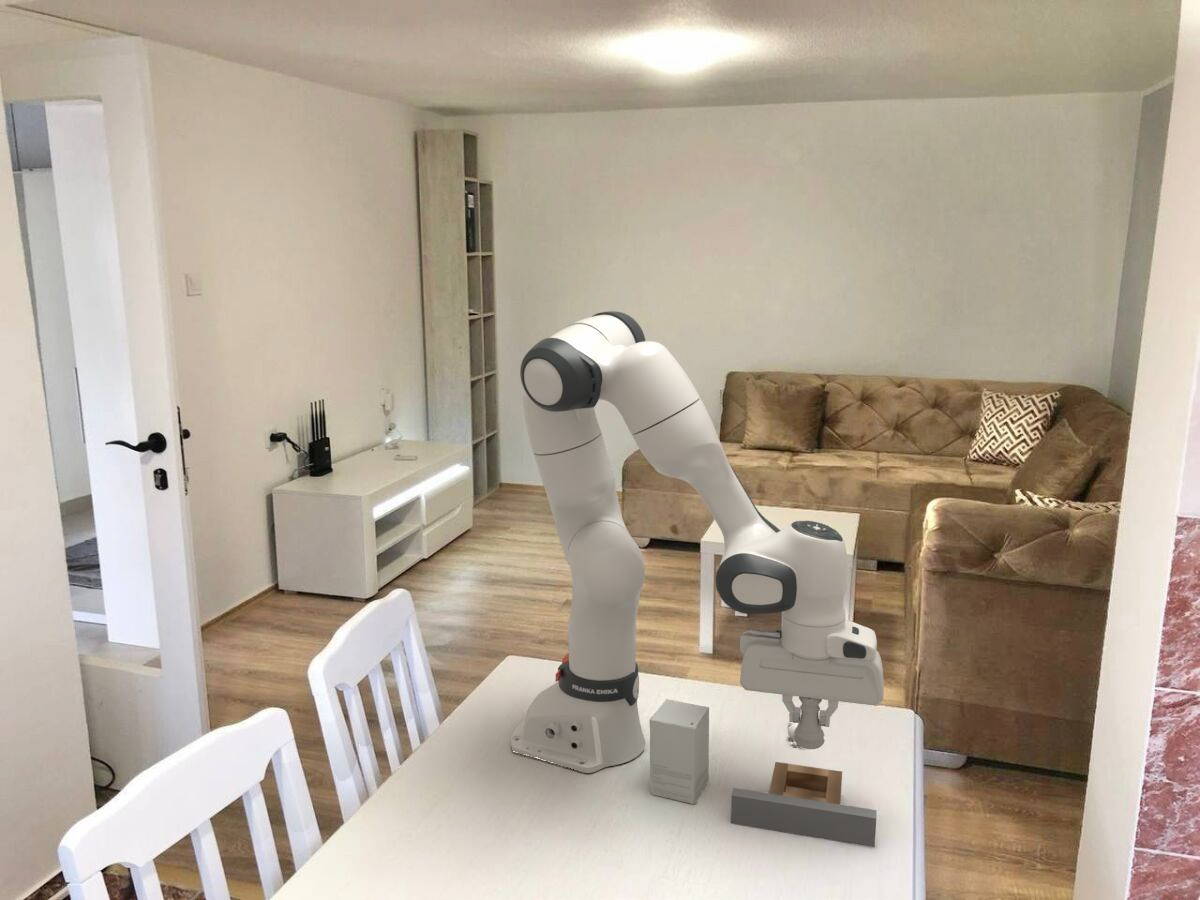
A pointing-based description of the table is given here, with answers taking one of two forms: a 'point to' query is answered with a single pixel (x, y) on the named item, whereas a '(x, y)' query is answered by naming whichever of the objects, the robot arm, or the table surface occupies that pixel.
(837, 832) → the backstop board
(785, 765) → the socket block
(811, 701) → the rook chess piece
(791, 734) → the rabbit figurine
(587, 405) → the robot arm
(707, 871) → the table surface
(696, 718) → the supplement box
